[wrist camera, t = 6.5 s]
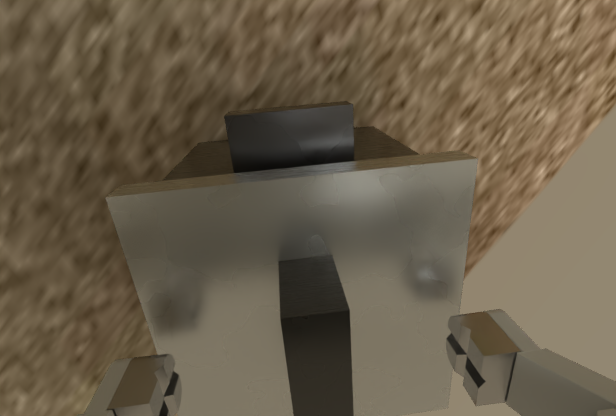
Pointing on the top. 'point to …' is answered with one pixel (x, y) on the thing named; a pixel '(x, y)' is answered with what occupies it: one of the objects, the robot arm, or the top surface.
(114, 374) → the robot arm
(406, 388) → the lid
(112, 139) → the top surface
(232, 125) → the pot
